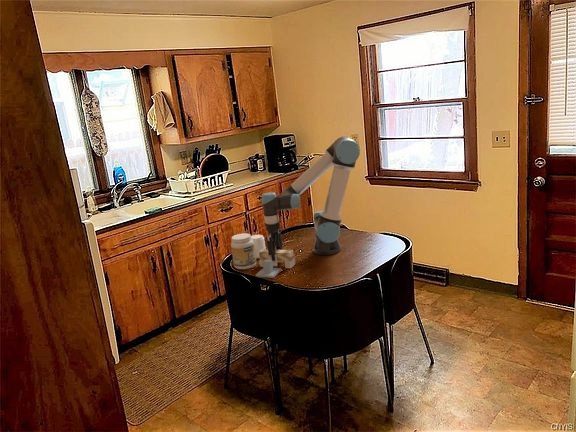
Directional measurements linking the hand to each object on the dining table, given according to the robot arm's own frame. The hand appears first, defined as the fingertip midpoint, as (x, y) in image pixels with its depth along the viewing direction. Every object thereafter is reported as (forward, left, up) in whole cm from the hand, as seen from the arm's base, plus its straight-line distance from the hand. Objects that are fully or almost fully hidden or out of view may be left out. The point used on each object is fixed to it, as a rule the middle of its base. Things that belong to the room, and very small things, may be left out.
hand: (277, 263), depth 247 cm
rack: (0, 0, -1) cm, 1 cm away
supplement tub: (+18, +3, -1) cm, 18 cm away
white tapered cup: (+16, -11, -1) cm, 20 cm away
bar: (0, 0, +3) cm, 3 cm away
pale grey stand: (0, +11, -1) cm, 11 cm away
